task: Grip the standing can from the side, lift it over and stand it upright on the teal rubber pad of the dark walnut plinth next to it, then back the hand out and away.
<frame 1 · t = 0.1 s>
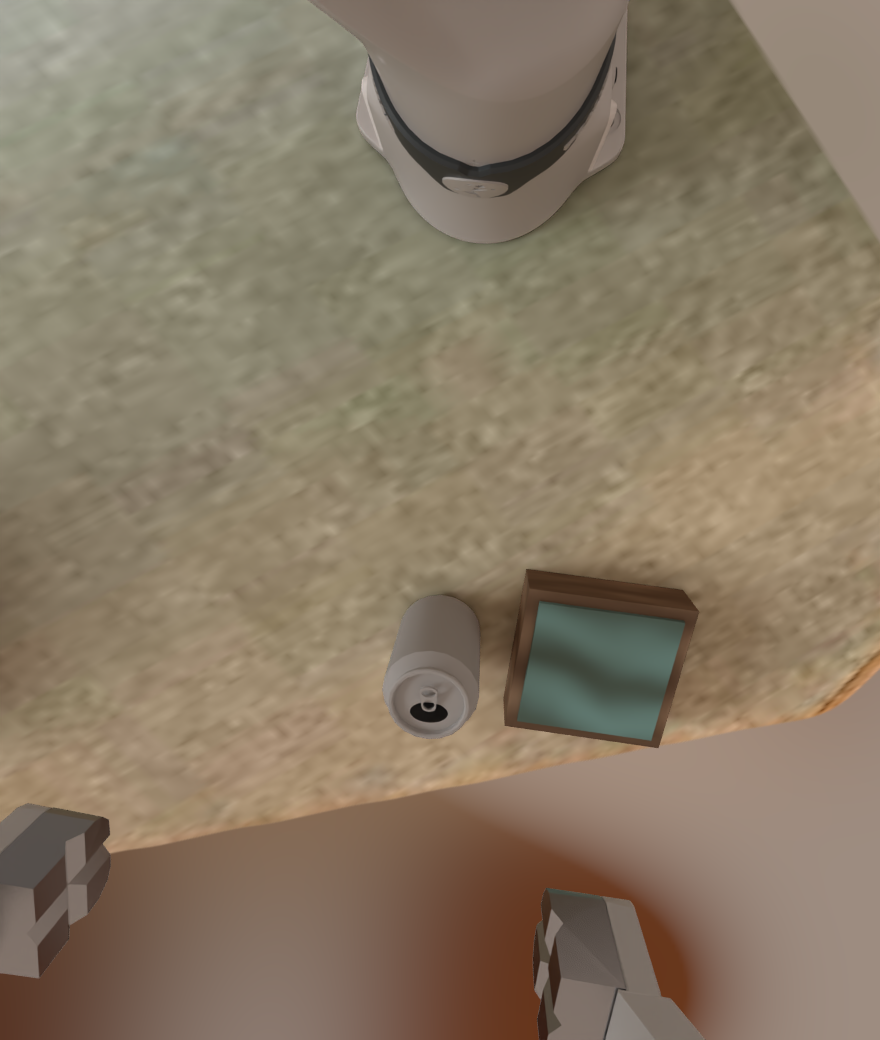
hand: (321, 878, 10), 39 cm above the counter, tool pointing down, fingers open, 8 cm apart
can: (441, 625, 52), on the counter
plinth: (588, 646, 52), on the counter
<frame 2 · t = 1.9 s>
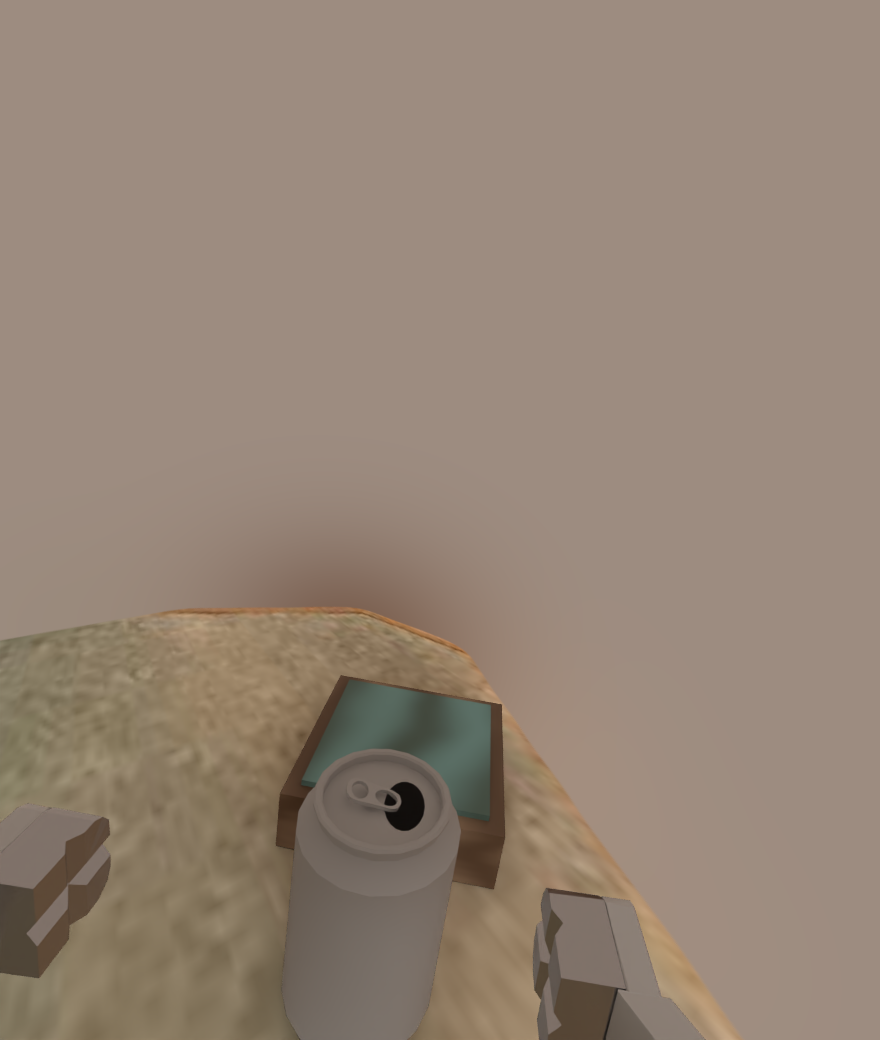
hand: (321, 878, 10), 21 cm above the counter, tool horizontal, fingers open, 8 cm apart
can: (356, 988, 28), on the counter
plinth: (401, 787, 41), on the counter
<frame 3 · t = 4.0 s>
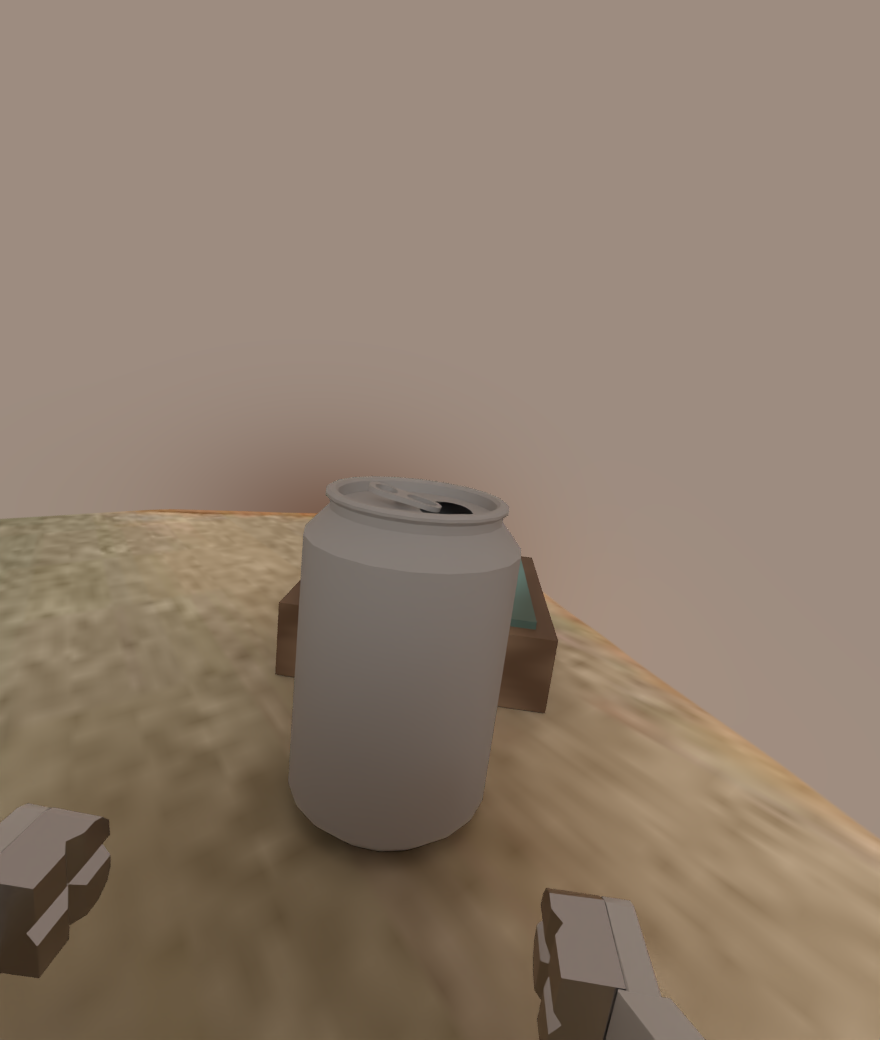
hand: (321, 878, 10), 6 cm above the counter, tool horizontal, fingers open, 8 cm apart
can: (385, 793, 22), on the counter
plinth: (422, 635, 35), on the counter
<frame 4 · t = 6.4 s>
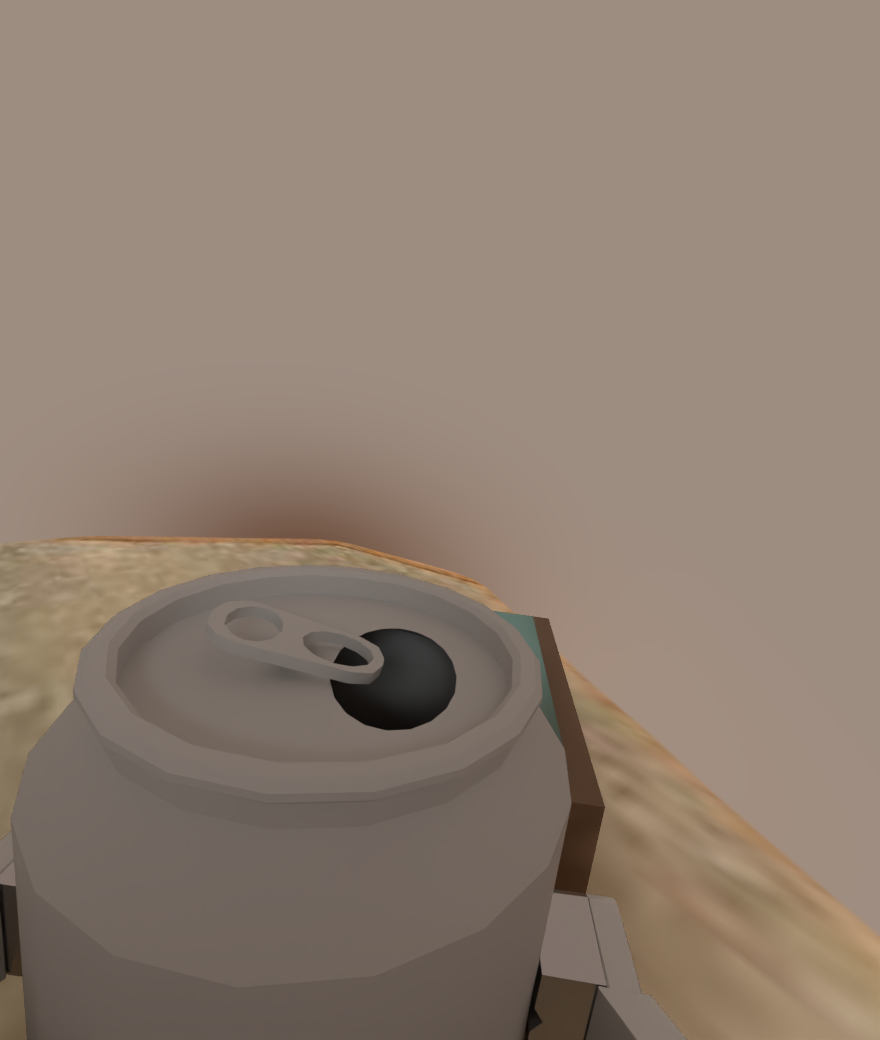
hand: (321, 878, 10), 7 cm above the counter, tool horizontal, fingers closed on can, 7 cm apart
plinth: (394, 743, 24), on the counter
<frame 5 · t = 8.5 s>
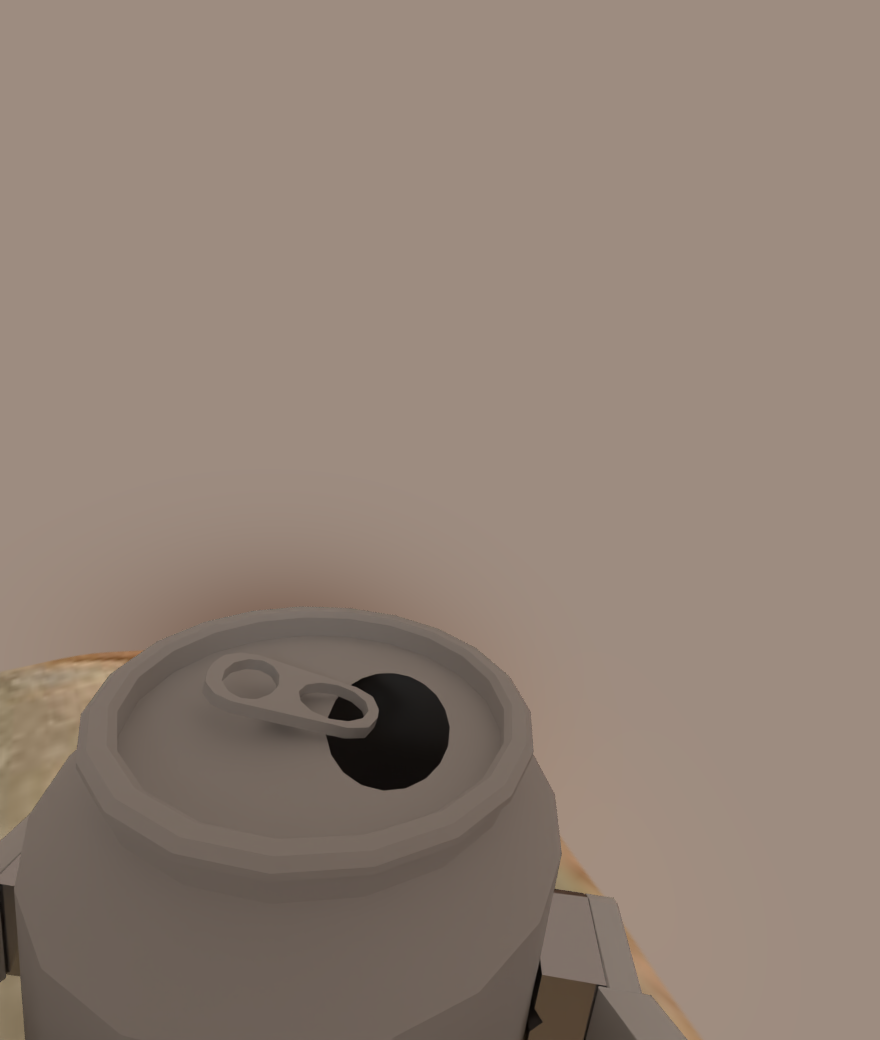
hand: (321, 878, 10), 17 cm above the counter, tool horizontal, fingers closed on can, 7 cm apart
when the fingers open (13 cm above the counter, at t = 11.1 s): can stays where it is, resting on plinth.
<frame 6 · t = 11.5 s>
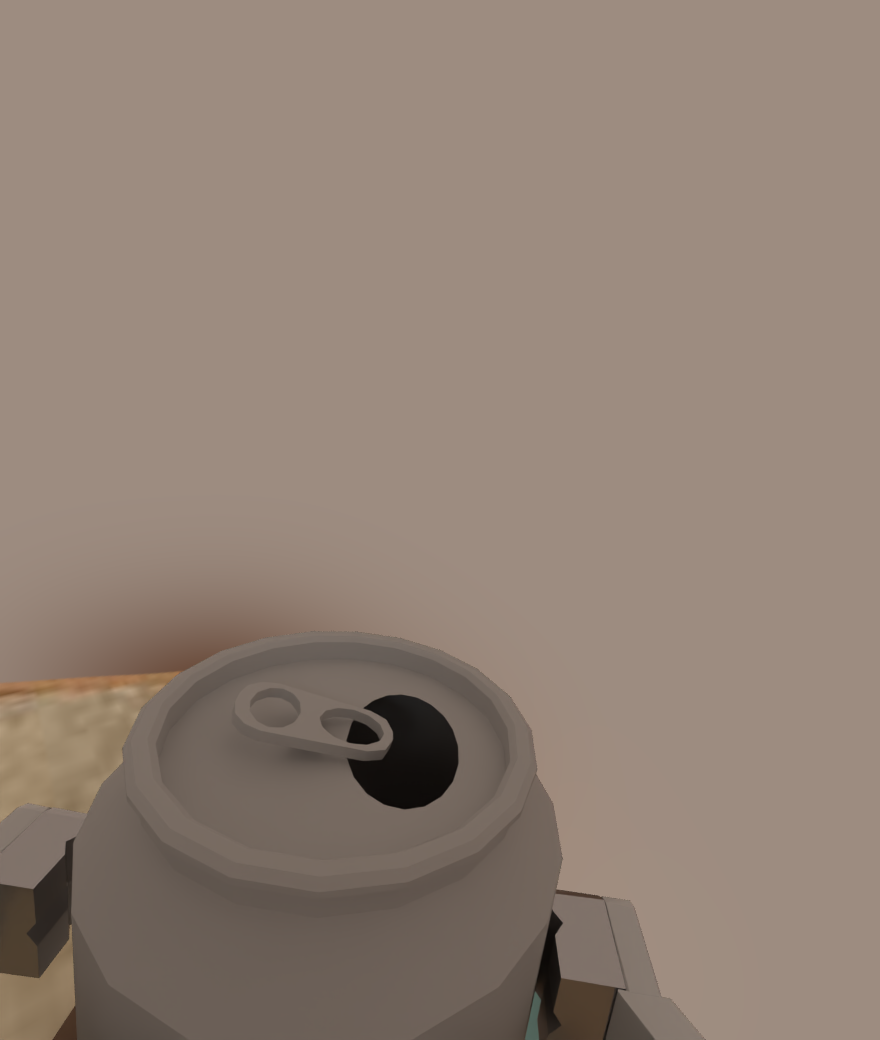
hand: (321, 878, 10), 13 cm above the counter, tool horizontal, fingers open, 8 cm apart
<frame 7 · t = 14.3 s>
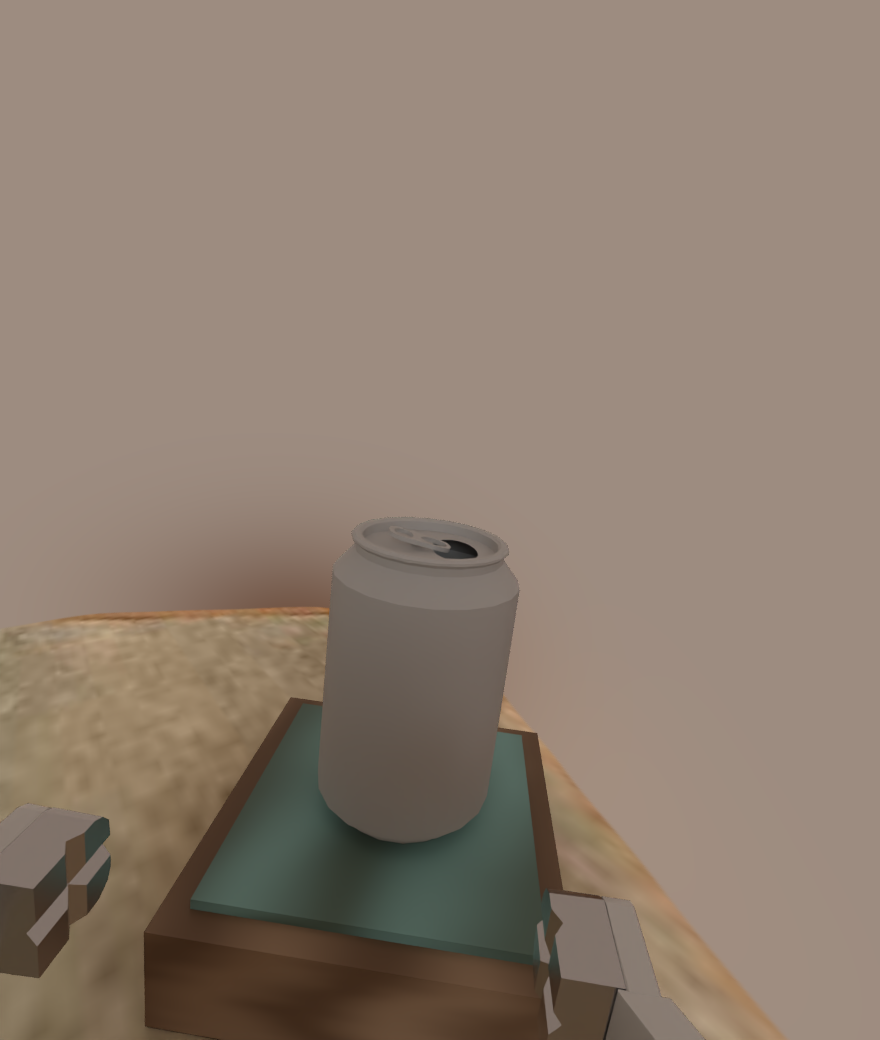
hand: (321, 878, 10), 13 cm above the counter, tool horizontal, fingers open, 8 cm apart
can: (401, 794, 25), point 4 cm above the counter, touching plinth
plinth: (385, 880, 25), on the counter
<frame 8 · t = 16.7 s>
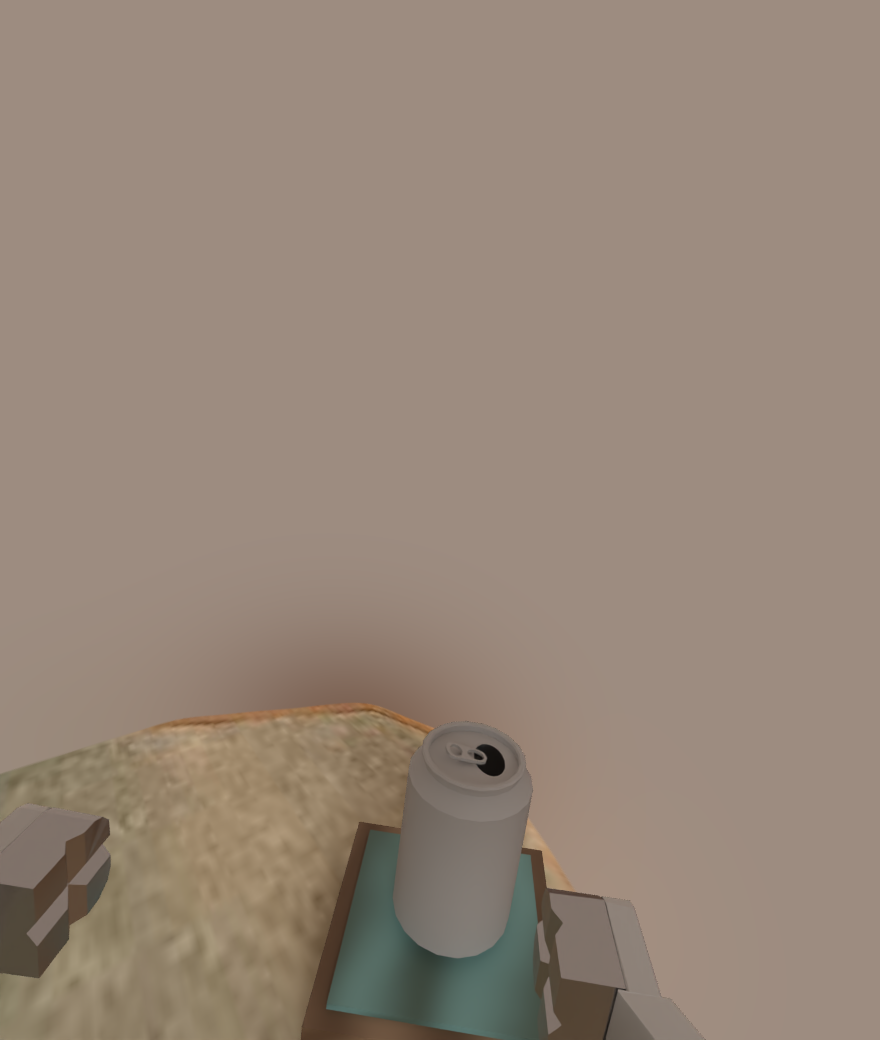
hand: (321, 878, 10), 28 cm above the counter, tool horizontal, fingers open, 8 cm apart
can: (448, 912, 36), point 4 cm above the counter, touching plinth
plinth: (436, 970, 36), on the counter
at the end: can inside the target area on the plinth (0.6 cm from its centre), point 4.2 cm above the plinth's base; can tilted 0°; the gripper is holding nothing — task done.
